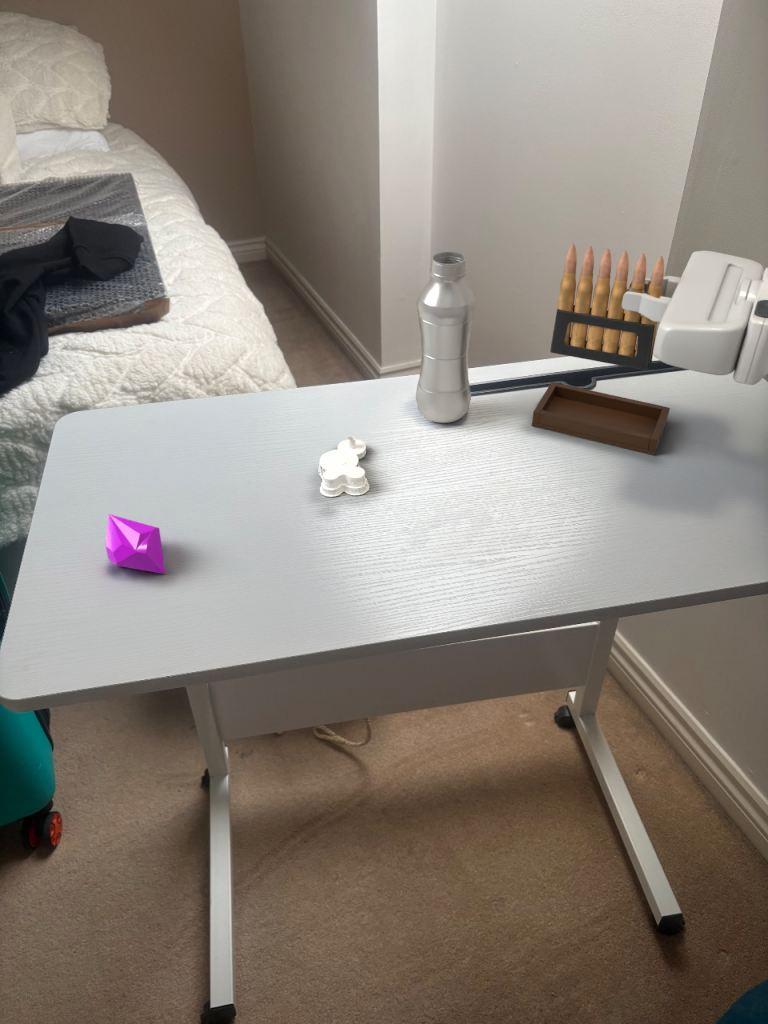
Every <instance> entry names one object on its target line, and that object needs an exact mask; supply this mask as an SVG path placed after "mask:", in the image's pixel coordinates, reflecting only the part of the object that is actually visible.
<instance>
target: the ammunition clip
mask: <svg viewBox="0 0 768 1024" xmlns="http://www.w3.org/2000/svg"><path fill="white" fill-rule="evenodd" d="M611 254H612V253H611V250H610V248H607V249H606V250H605V251H604V253H603V255H602V258H601V260H600V264H599V269H598V275H597V278H596V283H595V286H594V280H593V279H594V269H595V255H594V250H593V247H592V245H590V246H588V248H587V249H586V252H585V254H584V257H583V260H582V266H581V271H580V275H579V281H578V283H577V281H576V279H577V278H576V277H577V263H578V261H577V260H578V258H577V248H576V245H575V243H571V245H570V246H569V249H568V251H567V253H566V258H565V262H564V267H563V273H562V277H561V282H560V286H559V293H558V302H557V310H556V312H555V313H556V314H555V319H554V326H553V331H552V338H551V344H550V349H549V352H550V353H551V354H556V355H562V356H567V357H572V358H577V359H582V360H587V361H588V360H589V361H593V362H594V361H595V362H598V363H599V362H600V363H603V364H604V363H605V364H610V365H616V366H621V367H626V368H632V369H637V370H642V371H647V370H649V369H650V367H651V365H652V362H653V357H654V355H653V349H654V344H655V339H656V335H657V329H658V322H655V321H652V320H650V319H649V318H647V317H645V316H643V315H642V314H640V313H639V312H634V311H629V310H625V309H623V308H622V300H623V296H624V294H625V292H626V290H627V289H628V277H629V266H630V265H629V263H630V261H629V255H628V251H627V250H624V251H623V253H622V254H621V257H620V259H619V261H618V263H617V266H616V272H615V277H614V281H613V285H612V288H611V273H612V255H611ZM646 275H647V259H646V254H645V253H642V254H641V255H640V256H639V258H638V259H637V262H636V265H635V268H634V272H633V276H632V280H631V282H632V284H631V283H630V284H631V288H634V289H642V290H644V285H645V278H646ZM664 277H665V261H664V257H663V256H662V255H660V256H659V257H658V259H657V260H656V261H655V264H654V266H653V269H652V272H651V277H650V278H651V281H650V284H649V289H648V292H647V294H648V295H651V296H653V297H656V298H660V296H662V285H663V284H662V283H663V278H664Z"/></svg>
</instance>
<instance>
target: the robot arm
mask: <svg viewBox="0 0 768 1024" xmlns="http://www.w3.org/2000/svg"><path fill="white" fill-rule="evenodd" d="M650 281H651V277H650V278H649V277H645V285H644V290H642V289H634V288H631V284H632V281H631V282H630V283H629V287H627V290H626V292H625V294H624V296H623V300H622V308H623V309H624V311H625V310H629V311H634V312H639V313H640V314H641V316H642V315H643V316H645V317H647V318H649V319H650V320H652V321H655V322H657V323H659V324H658V326H657V329H656V335H655V342H654V349H653V357H654V358H656V359H657V360H659V361H660V362H661V363H663V364H665V365H669V366H672V367H676V368H680V369H684V370H688V371H691V372H697V373H702V374H708V375H711V376H712V375H713V376H727V375H731V374H732V373H733V375H732V379H733V381H735V382H736V383H738V384H743V385H749V386H754V385H757V384H758V383H759V382H760V381H761V380H762V379H764V378H765V377H766V376H767V375H768V267H765V269H764V266H763V265H762V264H761V263H760V262H757V261H755V260H752V259H750V258H746V257H741V256H737V255H732V254H727V253H722V252H717V251H711V250H696V251H694V252H692V253H691V255H690V257H689V259H688V262H687V263H686V266H685V268H684V270H683V272H682V275H681V277H679V276H673V275H664V278H663V283H662V284H663V285H662V296H660V298H656V297H653V296H651V295H648V294H647V292H648V289H649V284H650Z"/></svg>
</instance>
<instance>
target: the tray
mask: <svg viewBox="0 0 768 1024" xmlns="http://www.w3.org/2000/svg"><path fill="white" fill-rule="evenodd" d="M670 411H671V408H670V407H669V406H664V405H659V404H655V403H651V402H645V401H642V400H637V399H633V398H632V399H631V398H627V397H624V396H623V397H622V396H618V395H614V394H609V393H605V392H601V391H596V390H592V389H586V388H582V387H577V386H573V385H567V384H564V383H559V382H555V381H551V382H550V383H549V385H548V387H547V389H546V390H545V392H544V393H543V395H542V396H541V398H540V400H539V401H538V403H537V405H536V407H535V408H534V410H533V413H532V421H531V427H534V428H538V429H542V430H546V431H551V432H555V433H560V434H563V435H568V436H571V437H576V438H580V439H584V440H589V441H593V442H597V443H601V444H604V445H605V444H606V445H608V446H609V445H610V446H613V447H617V448H622V449H626V450H630V451H634V452H639V453H642V454H646V455H647V454H648V455H652V456H655V454H656V451H657V449H658V446H659V444H660V442H661V438H662V436H663V434H664V430H665V428H666V426H667V423H668V419H669V415H670Z"/></svg>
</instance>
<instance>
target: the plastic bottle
mask: <svg viewBox="0 0 768 1024" xmlns="http://www.w3.org/2000/svg"><path fill="white" fill-rule="evenodd" d="M430 262H431V264H430V269H429V275H430V277H431V279H429V281H428V282H427V283H426V284H425V286H424V287H423V289H422V290H421V291H420V293H419V295H418V297H417V298H418V299H417V301H416V307H417V308H416V310H417V311H416V312H417V317H418V324H419V332H420V347H421V351H420V352H421V359H420V368H419V379H418V381H417V385H416V391H415V402H416V407H417V410H418V411H419V413H420V414H421V415H422V417H424V418H425V419H426V420H428V421H431V422H434V423H441V424H446V423H454V422H456V421H459V420H460V419H462V418H463V417H465V415H466V414H467V413H468V412H469V409H470V404H471V401H472V392H471V391H472V390H471V384H470V380H469V358H468V357H469V347H470V340H471V339H470V338H471V332H472V328H473V324H474V318H475V313H476V307H477V306H476V305H477V303H476V299H475V295H474V293H473V291H472V290H471V288H470V286H469V285H468V283H467V282H466V281H465V279H464V278H465V277H466V275H467V268H466V265H467V257H466V256H465V255H464V254H462V253H461V252H460V253H459V252H455V251H440V252H437V253H435V254H433V255H432V256H431V261H430Z"/></svg>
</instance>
